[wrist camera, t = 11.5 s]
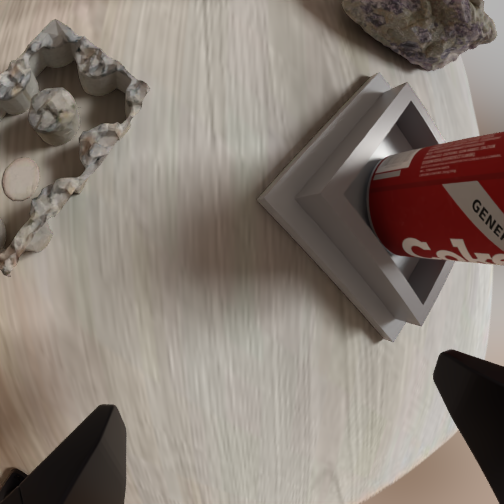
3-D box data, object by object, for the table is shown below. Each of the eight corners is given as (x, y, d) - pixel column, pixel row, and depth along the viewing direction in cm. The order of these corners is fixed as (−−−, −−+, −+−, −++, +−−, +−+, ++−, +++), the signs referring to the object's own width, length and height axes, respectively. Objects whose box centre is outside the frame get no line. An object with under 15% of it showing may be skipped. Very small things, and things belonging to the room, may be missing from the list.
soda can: (348, 162, 18) (534, 120, 7) (412, 153, 21) (558, 127, 10) (369, 268, 19) (550, 293, 8) (428, 241, 22) (572, 248, 11)
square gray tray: (384, 339, 22) (418, 351, 18) (256, 199, 17) (286, 192, 14) (455, 207, 25) (485, 206, 22) (370, 76, 20) (402, 60, 17)
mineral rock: (321, 14, 19) (410, -54, 9) (350, -34, 20) (415, -84, 11) (430, 111, 23) (522, 86, 14) (438, 46, 25) (508, 18, 15)
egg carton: (31, 279, 13) (4, 292, 10) (-53, 194, 11) (-91, 185, 7) (156, 116, 15) (167, 83, 12) (66, 46, 13) (58, 4, 9)
